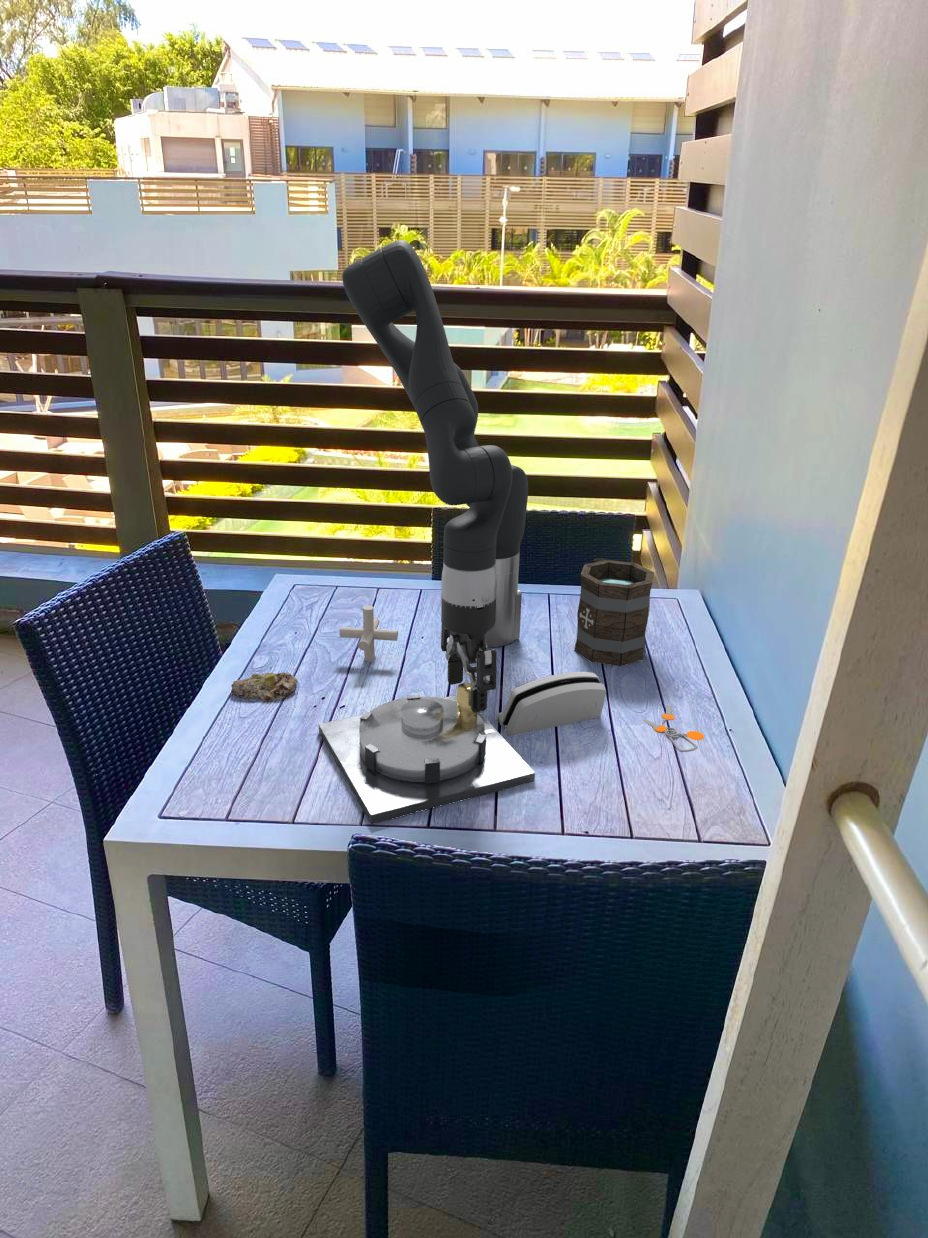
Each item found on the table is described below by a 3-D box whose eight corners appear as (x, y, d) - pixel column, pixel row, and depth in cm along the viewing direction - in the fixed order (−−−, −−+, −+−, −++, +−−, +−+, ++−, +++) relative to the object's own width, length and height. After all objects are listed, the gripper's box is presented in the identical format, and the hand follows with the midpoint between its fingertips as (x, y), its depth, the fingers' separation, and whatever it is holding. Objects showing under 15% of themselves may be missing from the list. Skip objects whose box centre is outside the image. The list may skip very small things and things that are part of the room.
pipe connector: (401, 648, 157) (401, 598, 153) (392, 674, 148) (391, 621, 144) (347, 645, 158) (346, 594, 154) (335, 670, 149) (332, 617, 145)
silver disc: (365, 789, 115) (364, 731, 111) (354, 717, 132) (352, 665, 128) (497, 776, 118) (499, 720, 115) (470, 708, 135) (471, 656, 131)
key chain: (717, 747, 130) (718, 743, 130) (674, 755, 128) (675, 751, 128) (672, 706, 141) (673, 702, 141) (632, 713, 139) (633, 708, 139)
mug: (657, 664, 154) (667, 586, 148) (583, 667, 152) (590, 589, 146) (624, 618, 172) (632, 547, 165) (558, 621, 170) (563, 549, 164)
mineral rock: (296, 663, 147) (296, 673, 139) (298, 688, 148) (299, 699, 140) (231, 670, 145) (228, 681, 137) (234, 696, 146) (231, 707, 138)
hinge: (585, 701, 141) (601, 659, 135) (599, 723, 138) (616, 681, 132) (493, 721, 135) (505, 677, 128) (505, 744, 132) (518, 701, 125)
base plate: (462, 701, 140) (462, 693, 140) (534, 781, 121) (535, 772, 120) (318, 732, 131) (318, 723, 130) (371, 824, 111) (371, 814, 111)
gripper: (424, 578, 122) (424, 679, 129) (464, 617, 110) (462, 726, 117) (473, 571, 125) (470, 670, 132) (516, 608, 113) (511, 715, 120)
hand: (466, 696), depth 125 cm, fingers open, 8 cm apart
